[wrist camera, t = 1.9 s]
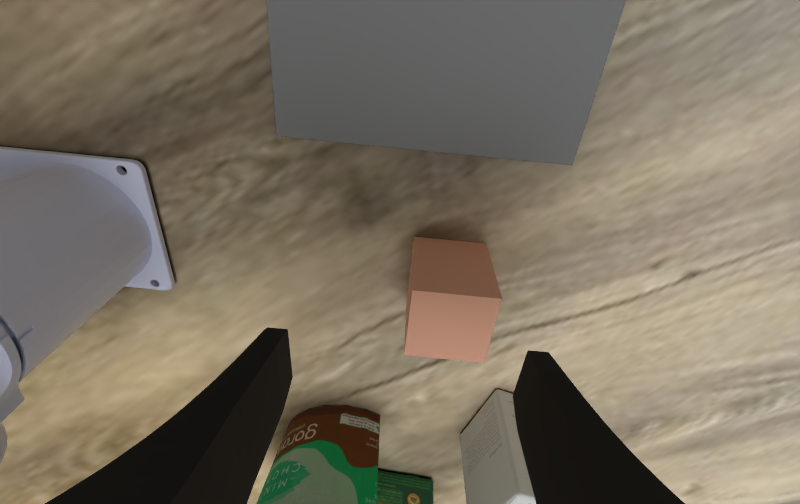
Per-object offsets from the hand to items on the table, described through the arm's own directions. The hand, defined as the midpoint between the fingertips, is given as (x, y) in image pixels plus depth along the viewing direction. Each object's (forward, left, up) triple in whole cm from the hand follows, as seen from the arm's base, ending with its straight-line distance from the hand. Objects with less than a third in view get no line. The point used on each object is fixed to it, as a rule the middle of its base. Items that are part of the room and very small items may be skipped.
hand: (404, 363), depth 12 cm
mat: (0, +10, -11) cm, 14 cm away
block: (+2, -3, -11) cm, 11 cm away
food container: (-6, -19, -11) cm, 23 cm away
